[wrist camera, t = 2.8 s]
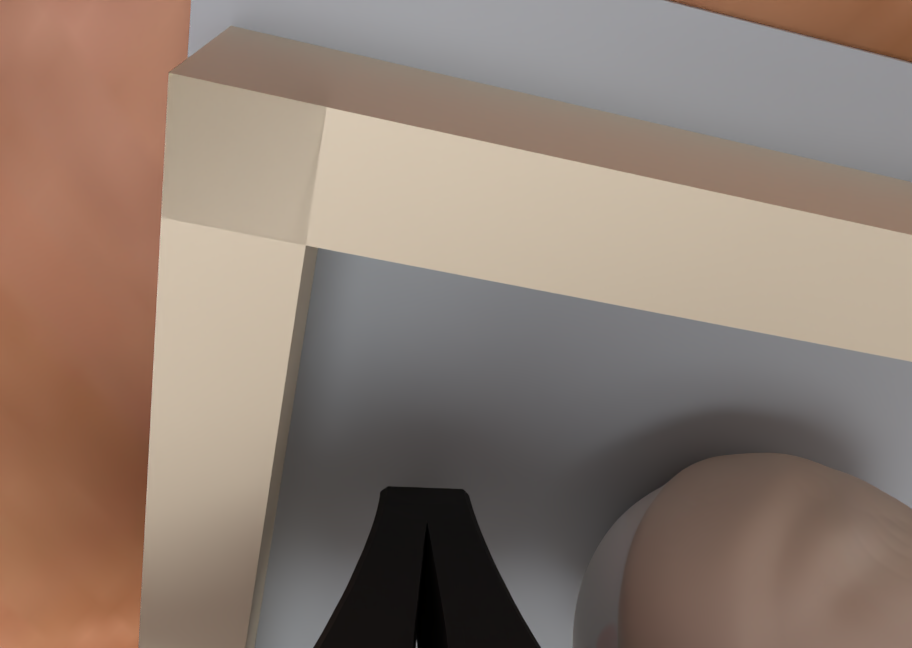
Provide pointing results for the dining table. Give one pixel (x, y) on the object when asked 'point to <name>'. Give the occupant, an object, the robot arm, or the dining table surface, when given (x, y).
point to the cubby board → (505, 285)
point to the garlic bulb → (752, 562)
